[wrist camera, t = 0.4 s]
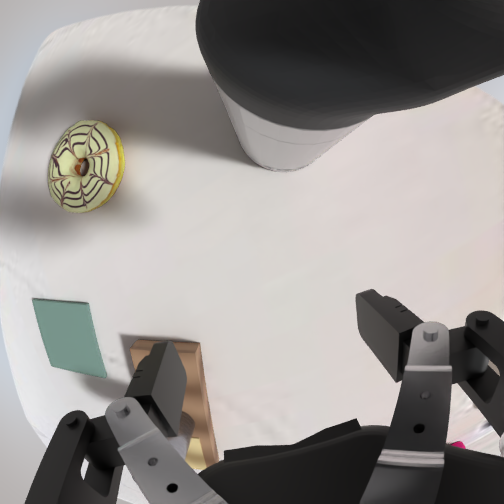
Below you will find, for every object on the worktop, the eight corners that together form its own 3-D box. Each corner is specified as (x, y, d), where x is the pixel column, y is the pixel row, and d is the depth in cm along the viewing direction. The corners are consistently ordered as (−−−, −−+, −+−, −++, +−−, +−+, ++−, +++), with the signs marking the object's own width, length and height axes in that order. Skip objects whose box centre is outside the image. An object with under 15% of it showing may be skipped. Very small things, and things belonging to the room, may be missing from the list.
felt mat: (34, 298, 32) (32, 300, 31) (88, 303, 31) (86, 304, 31) (53, 364, 34) (51, 366, 33) (107, 375, 33) (105, 378, 33)
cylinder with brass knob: (156, 406, 31) (120, 477, 18) (192, 410, 30) (166, 487, 18) (163, 431, 32) (135, 499, 19) (197, 434, 31) (177, 508, 19)
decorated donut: (55, 148, 28) (37, 145, 25) (120, 110, 27) (104, 101, 24) (70, 223, 30) (52, 226, 26) (140, 192, 29) (124, 191, 25)
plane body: (137, 339, 32) (128, 349, 29) (199, 342, 31) (194, 354, 29) (170, 453, 36) (166, 464, 33) (218, 458, 35) (216, 470, 33)
